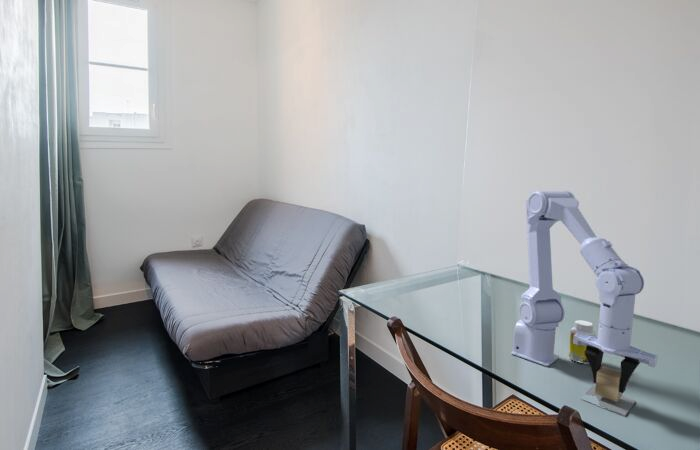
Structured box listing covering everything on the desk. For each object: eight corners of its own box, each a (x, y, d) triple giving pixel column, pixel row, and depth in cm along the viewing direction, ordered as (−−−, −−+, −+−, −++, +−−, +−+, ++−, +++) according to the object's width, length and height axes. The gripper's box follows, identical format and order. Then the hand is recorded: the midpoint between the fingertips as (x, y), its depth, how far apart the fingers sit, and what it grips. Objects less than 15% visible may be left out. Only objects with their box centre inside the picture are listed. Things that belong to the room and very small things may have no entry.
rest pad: (580, 399, 82) (580, 397, 82) (592, 386, 87) (592, 385, 87) (625, 416, 76) (625, 415, 76) (635, 401, 81) (635, 400, 81)
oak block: (594, 393, 82) (596, 371, 81) (600, 387, 85) (602, 365, 84) (616, 402, 79) (619, 379, 78) (622, 395, 82) (624, 372, 81)
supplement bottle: (586, 367, 97) (590, 328, 95) (564, 358, 101) (567, 321, 100) (597, 362, 100) (600, 324, 99) (575, 353, 104) (578, 317, 103)
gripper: (570, 319, 83) (565, 379, 84) (654, 340, 72) (646, 408, 73) (581, 312, 87) (576, 369, 89) (662, 331, 77) (655, 395, 78)
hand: (609, 386), depth 81 cm, fingers closed on oak block, 4 cm apart
